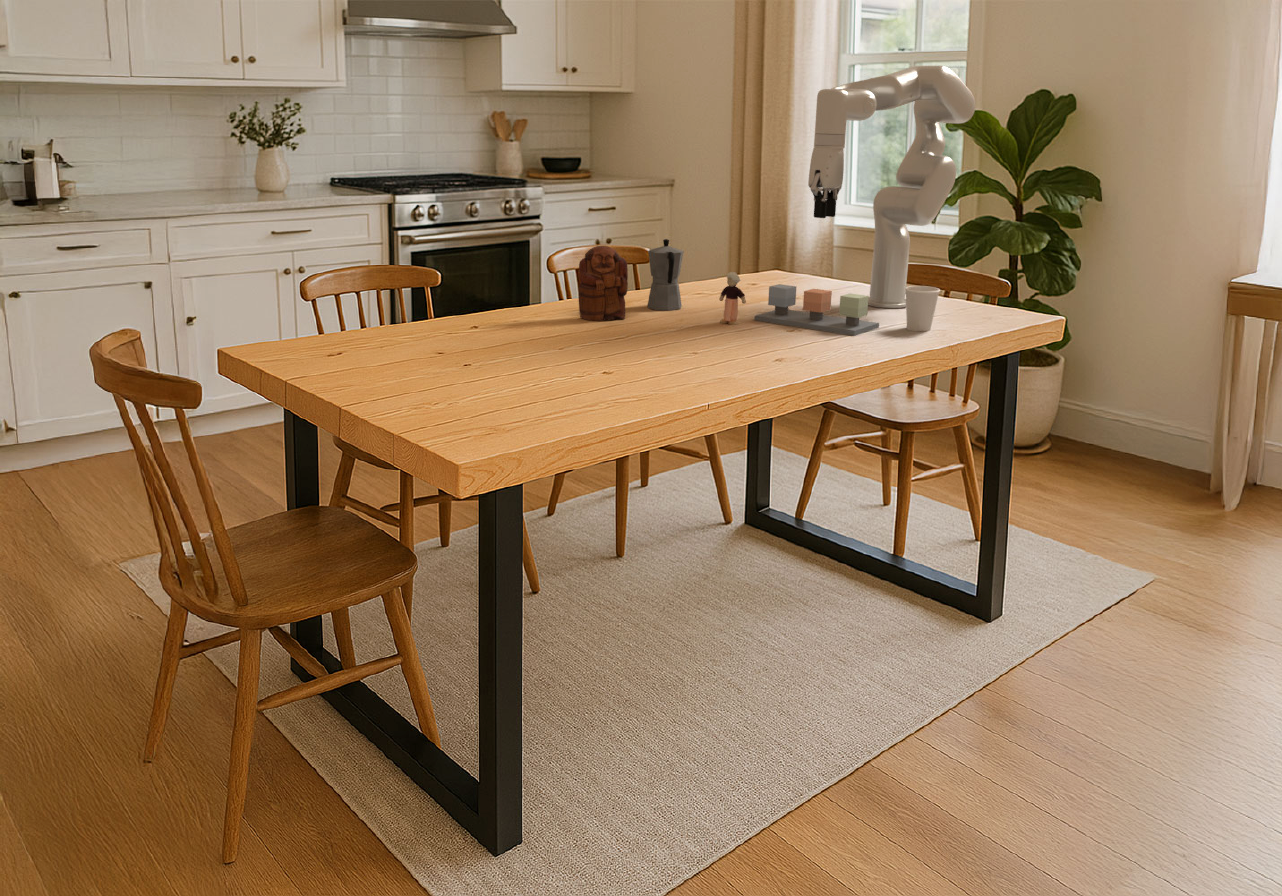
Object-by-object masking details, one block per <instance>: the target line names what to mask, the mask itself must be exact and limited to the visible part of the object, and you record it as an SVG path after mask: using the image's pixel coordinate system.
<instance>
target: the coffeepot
mask: <svg viewBox="0 0 1282 896" xmlns="http://www.w3.org/2000/svg"><path fill="white" fill-rule="evenodd" d="M662 241H663V246H659V247H654V248H650V249H649V250H648V251H647V252H648V259H649V260H648V261H649V262H648V263H649V268H650V270H649V271H650V276H652V282H651V285H650V291H649V295H648V302H647V307H646V308H648V309H650V310H654V311H663V312H665V311H667V312H669V311H671V312H673V311H679V310H681V308H682V307H683V305H682V300H681V292H680V284H679V277H680V275H681V268H682V263H683V257H684V251H685V250H683V249H679V248H676V247H672V246H669V244H670V239H668V238H666V239H663V240H662Z"/></svg>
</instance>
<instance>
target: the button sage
mask: <svg viewBox="0 0 1282 896" xmlns="http://www.w3.org/2000/svg"><path fill="white" fill-rule="evenodd" d="M869 297H870V295H865V294H858V293H857V294H856V293H847V294H843V295H840V298H839V308H838V309H839V311H838V316H840V317H846V316H848V317H854V318H859V317H860V318H863V317H865V316H868V311H869V310H868V309H869V308H868V307H869V305H868V298H869Z"/></svg>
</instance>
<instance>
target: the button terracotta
mask: <svg viewBox="0 0 1282 896" xmlns="http://www.w3.org/2000/svg"><path fill="white" fill-rule="evenodd" d="M832 295H833V293H832V290H827V289H820V288H819V289H818V288H812V289H807V290H803V301H802V302H803V303H802V310H803V311H805V312H810V311H813V312H820V313H821V312H823V313H824V312H828V311H831V308H832Z"/></svg>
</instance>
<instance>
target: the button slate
mask: <svg viewBox="0 0 1282 896" xmlns="http://www.w3.org/2000/svg"><path fill="white" fill-rule="evenodd" d="M796 298H797V286H796V285H789V284H782V283H781V284H780V283H779V284H778V283H777V284H774V285H770V286H768V301H767V305H768V306H774V307H775V306H778V307H788V308H789V307H792V306H796Z"/></svg>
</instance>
